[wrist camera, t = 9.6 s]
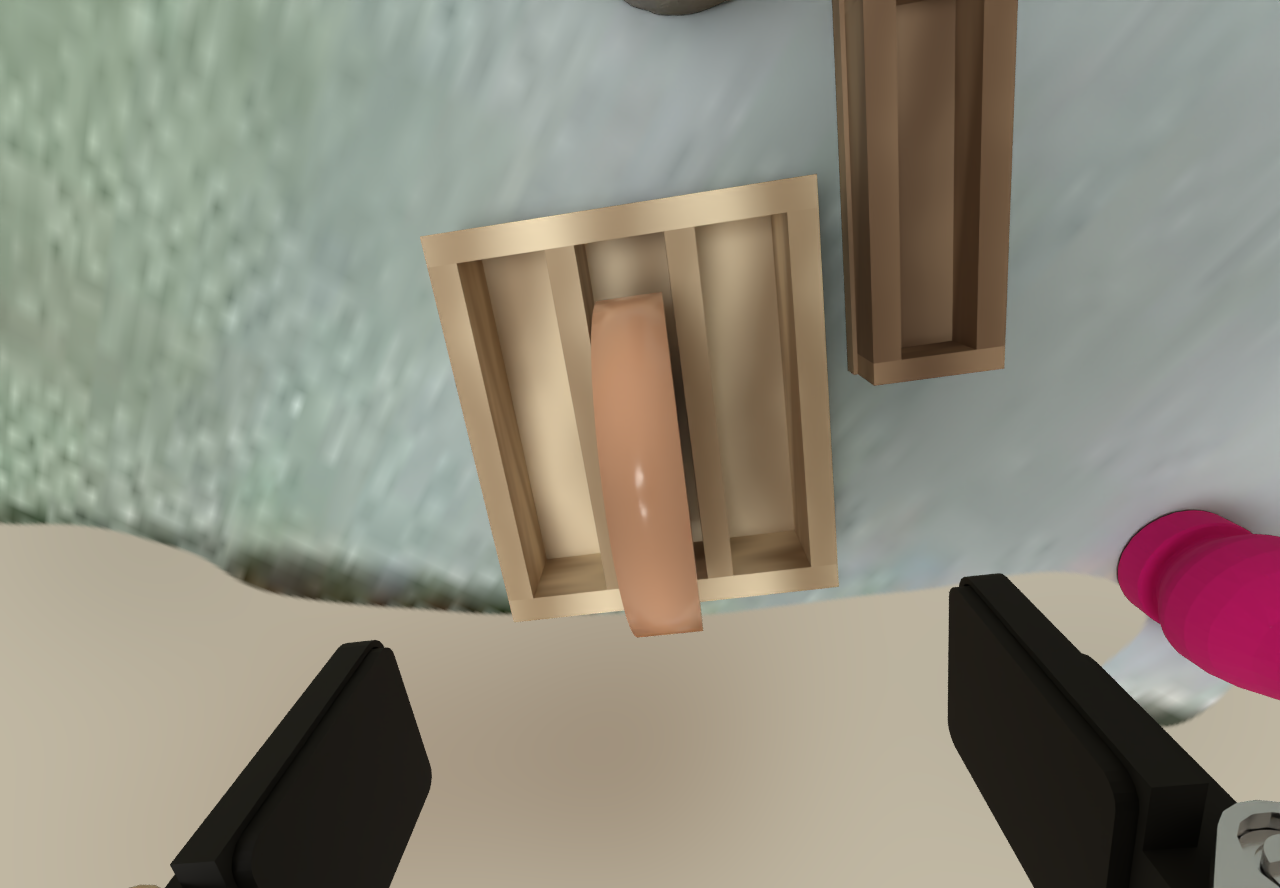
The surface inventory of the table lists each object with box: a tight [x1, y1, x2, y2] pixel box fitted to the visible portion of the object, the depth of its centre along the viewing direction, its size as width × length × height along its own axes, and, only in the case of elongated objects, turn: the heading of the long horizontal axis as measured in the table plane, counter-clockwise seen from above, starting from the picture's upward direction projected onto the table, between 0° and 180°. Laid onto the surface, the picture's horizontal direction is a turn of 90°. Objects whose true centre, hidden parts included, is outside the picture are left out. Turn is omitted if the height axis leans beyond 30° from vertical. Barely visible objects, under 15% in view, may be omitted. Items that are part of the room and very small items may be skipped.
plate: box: [591, 292, 703, 638], centre depth 25 cm, size 2×13×13 cm, turn 8°
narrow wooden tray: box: [832, 0, 1018, 386], centre depth 27 cm, size 6×16×3 cm, turn 8°
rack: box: [420, 174, 839, 622], centre depth 30 cm, size 16×18×5 cm
